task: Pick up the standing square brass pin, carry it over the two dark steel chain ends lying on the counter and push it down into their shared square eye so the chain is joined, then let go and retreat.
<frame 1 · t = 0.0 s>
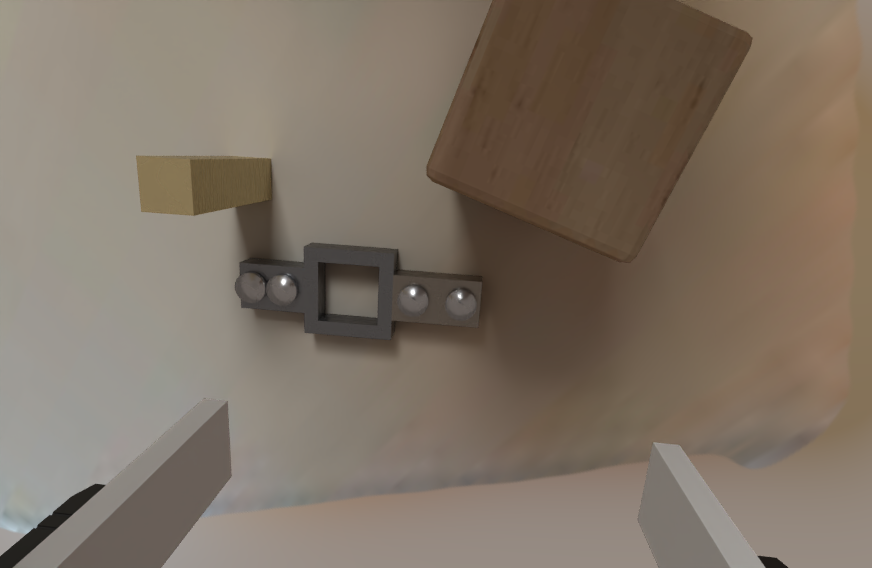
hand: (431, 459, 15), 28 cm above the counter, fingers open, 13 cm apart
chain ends: (353, 288, 43), on the counter
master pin: (251, 177, 42), on the counter
wooden block: (529, 133, 39), on the counter
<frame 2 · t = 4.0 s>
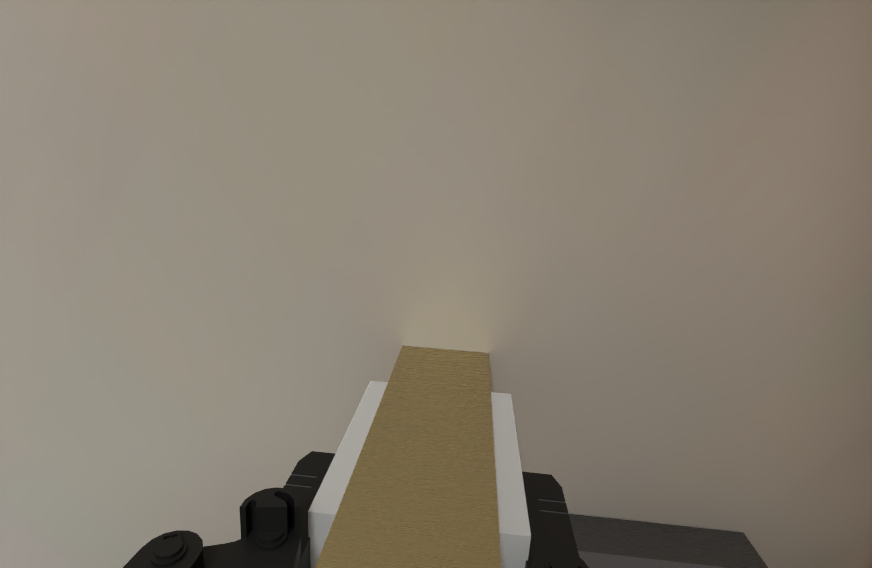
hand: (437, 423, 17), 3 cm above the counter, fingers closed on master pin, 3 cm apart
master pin: (442, 389, 20), on the counter, touching gripper
when the fingers open (3 cm above the counter, at t = 8.8 s): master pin stays where it is, resting in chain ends.
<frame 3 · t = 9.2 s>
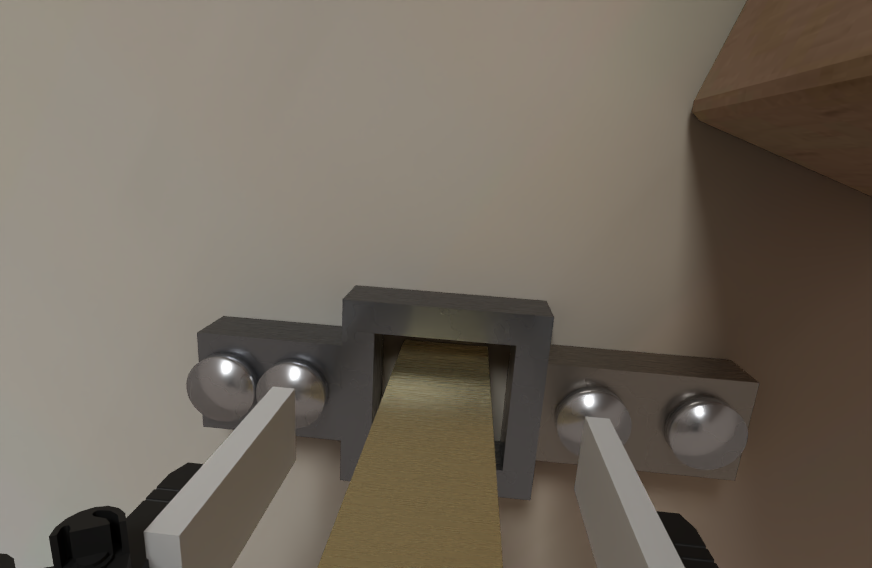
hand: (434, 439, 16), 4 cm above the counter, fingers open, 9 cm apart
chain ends: (443, 380, 20), on the counter
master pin: (443, 380, 20), resting in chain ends
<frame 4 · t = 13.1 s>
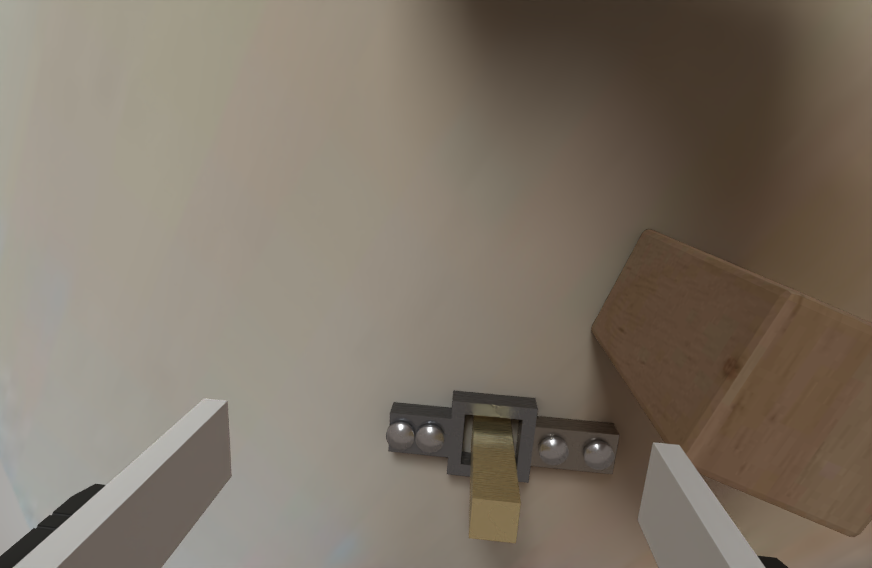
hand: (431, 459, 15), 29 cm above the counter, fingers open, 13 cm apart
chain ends: (490, 430, 47), on the counter
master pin: (490, 430, 47), resting in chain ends
wooden block: (666, 301, 42), on the counter
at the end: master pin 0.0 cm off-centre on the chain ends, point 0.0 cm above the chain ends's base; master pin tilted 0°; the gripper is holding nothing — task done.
